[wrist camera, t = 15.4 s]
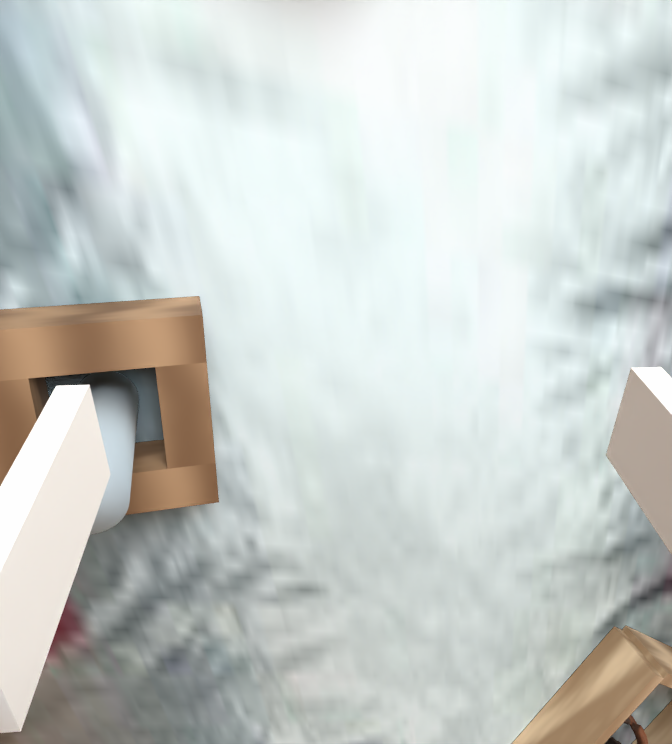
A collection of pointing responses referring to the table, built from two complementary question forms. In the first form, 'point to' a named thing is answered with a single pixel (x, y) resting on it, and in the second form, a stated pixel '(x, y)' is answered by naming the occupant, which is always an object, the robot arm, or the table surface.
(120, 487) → the peg
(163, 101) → the table surface
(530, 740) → the open wooden box
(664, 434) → the robot arm
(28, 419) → the socket
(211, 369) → the table surface
